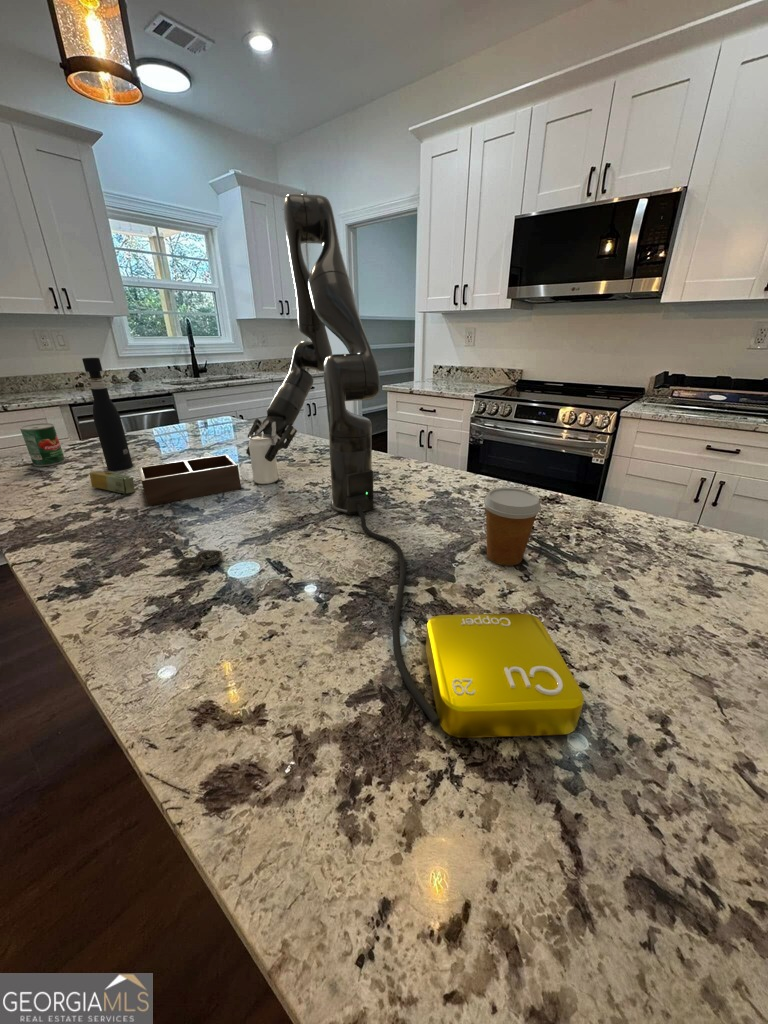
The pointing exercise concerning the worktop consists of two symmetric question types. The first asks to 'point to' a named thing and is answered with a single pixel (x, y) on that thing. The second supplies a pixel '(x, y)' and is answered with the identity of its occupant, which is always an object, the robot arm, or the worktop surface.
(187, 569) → the corroded twin loop
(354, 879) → the worktop surface
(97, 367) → the black water bottle
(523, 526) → the disposable coffee cup
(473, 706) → the element tile
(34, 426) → the canned tomato
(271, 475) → the can
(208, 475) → the caddy
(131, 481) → the medication box
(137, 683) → the worktop surface
